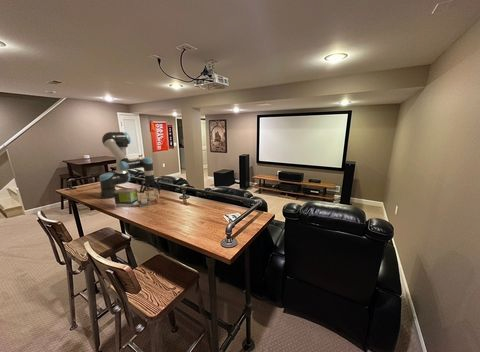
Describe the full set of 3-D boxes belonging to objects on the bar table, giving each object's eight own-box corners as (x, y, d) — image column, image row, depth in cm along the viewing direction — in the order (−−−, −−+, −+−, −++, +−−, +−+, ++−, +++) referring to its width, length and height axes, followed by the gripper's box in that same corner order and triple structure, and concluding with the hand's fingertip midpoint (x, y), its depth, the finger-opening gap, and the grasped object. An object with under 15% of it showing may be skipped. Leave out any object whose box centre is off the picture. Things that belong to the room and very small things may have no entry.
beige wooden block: (149, 201, 178) (147, 190, 176) (154, 200, 181) (153, 190, 179) (149, 202, 175) (148, 192, 173) (155, 201, 177) (154, 191, 175)
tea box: (139, 203, 174) (137, 188, 171) (131, 208, 164) (129, 191, 161) (123, 203, 175) (121, 187, 172) (115, 207, 166) (112, 191, 162)
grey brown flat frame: (139, 205, 169) (138, 202, 168) (157, 202, 177) (156, 199, 177) (140, 209, 162) (139, 205, 161) (159, 205, 170) (158, 202, 169)
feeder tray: (145, 201, 180) (144, 198, 180) (156, 199, 186) (156, 196, 185) (146, 204, 173) (146, 201, 172) (158, 202, 178) (158, 199, 178)
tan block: (141, 204, 168) (139, 193, 166) (146, 203, 170) (145, 192, 168) (141, 206, 164) (140, 195, 162) (147, 205, 167) (146, 194, 164)
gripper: (135, 177, 163) (138, 201, 168) (163, 174, 176) (165, 197, 180) (134, 175, 169) (137, 199, 174) (161, 172, 182) (164, 195, 187)
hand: (151, 198), depth 177 cm, fingers open, 11 cm apart
